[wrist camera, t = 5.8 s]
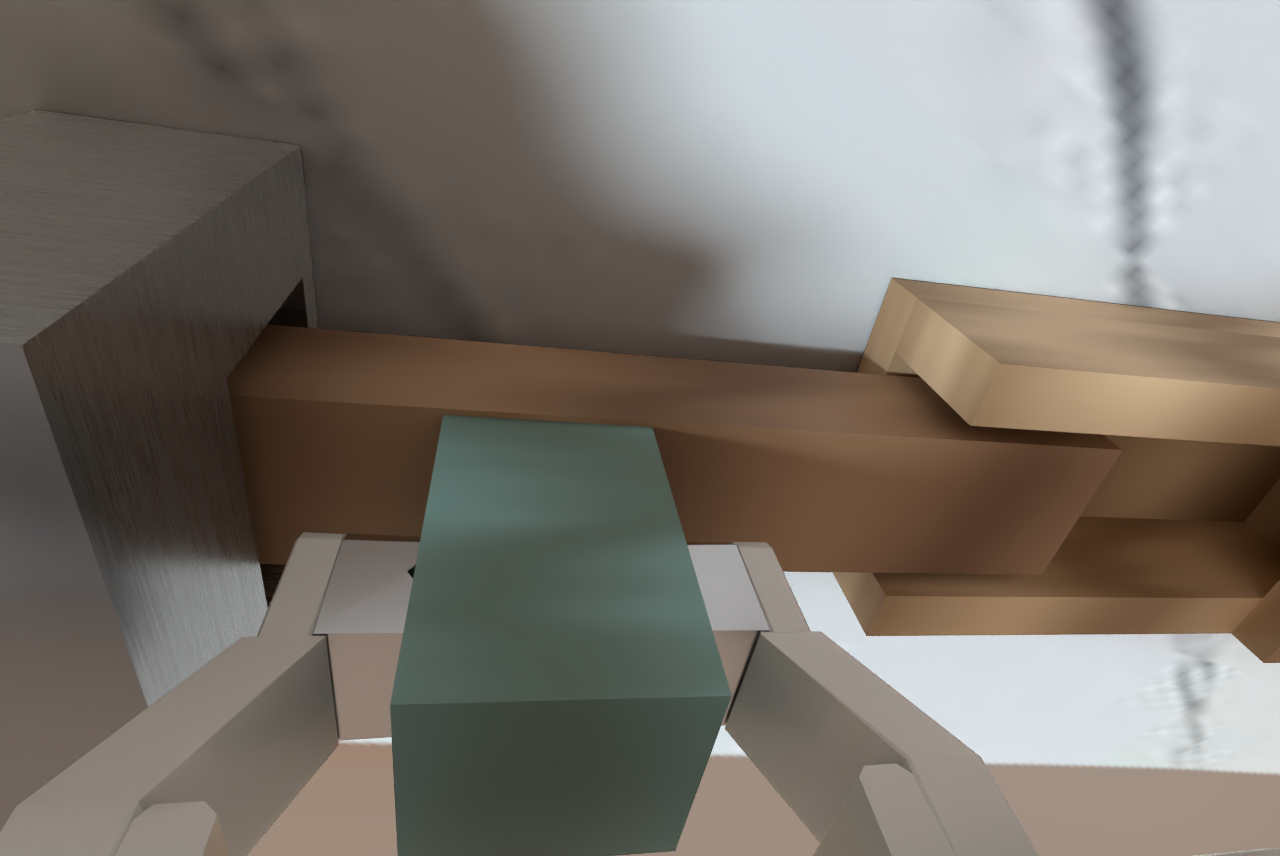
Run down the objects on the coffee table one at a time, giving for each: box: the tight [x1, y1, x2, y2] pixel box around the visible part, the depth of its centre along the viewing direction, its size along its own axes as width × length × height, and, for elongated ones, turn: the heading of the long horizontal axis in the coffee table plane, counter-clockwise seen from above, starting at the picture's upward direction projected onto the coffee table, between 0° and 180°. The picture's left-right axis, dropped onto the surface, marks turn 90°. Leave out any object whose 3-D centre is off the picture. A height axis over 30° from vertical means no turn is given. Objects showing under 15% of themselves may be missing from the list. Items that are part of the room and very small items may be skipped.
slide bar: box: [226, 324, 1122, 856], centre depth 10 cm, size 16×3×7 cm, turn 81°
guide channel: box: [833, 278, 1280, 663], centre depth 14 cm, size 12×6×4 cm, turn 81°
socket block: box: [0, 110, 318, 831], centre depth 9 cm, size 4×8×7 cm, turn 171°
